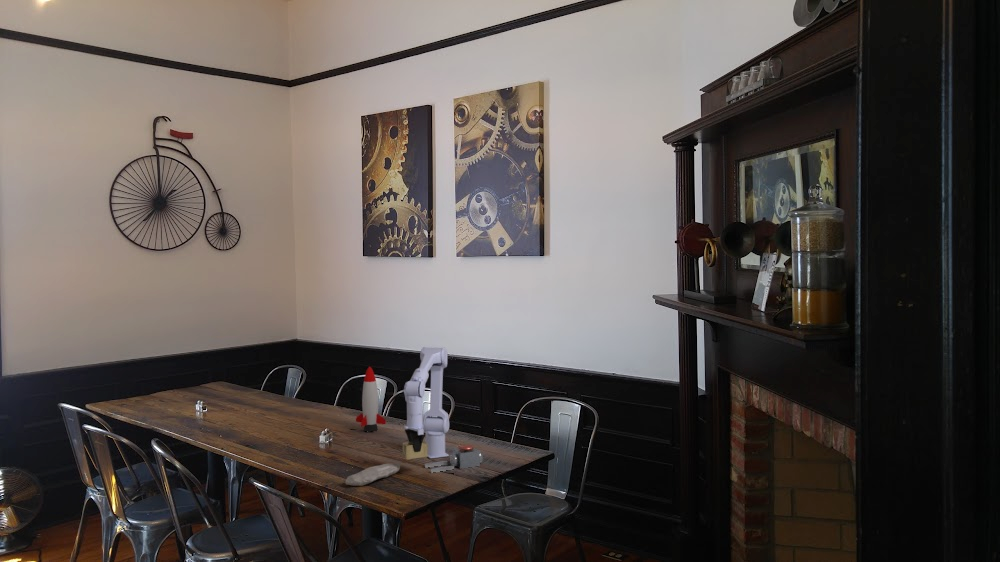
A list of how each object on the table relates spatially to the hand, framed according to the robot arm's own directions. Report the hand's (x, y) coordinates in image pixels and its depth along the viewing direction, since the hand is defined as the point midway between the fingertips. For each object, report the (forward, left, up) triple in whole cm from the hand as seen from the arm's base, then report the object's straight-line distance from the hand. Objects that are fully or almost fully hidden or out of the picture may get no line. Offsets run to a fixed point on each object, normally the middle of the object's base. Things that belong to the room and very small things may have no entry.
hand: (415, 450), depth 257 cm
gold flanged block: (0, 0, -2) cm, 2 cm away
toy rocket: (-73, +1, -9) cm, 74 cm away
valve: (-2, +16, -9) cm, 19 cm away
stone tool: (0, -15, -9) cm, 18 cm away
